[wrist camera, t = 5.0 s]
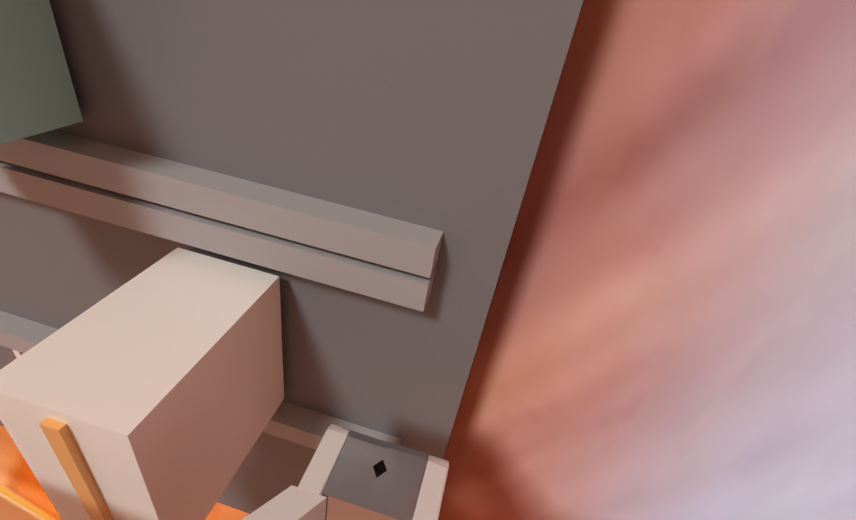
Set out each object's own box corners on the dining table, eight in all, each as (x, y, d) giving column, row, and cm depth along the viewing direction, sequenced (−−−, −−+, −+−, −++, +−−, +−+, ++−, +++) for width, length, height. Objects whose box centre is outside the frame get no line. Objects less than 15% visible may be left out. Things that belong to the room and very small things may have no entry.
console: (622, -150, 8) (675, -257, 4) (420, 523, 21) (395, 624, 18) (-582, -331, 11) (-1069, -469, 8) (-99, 347, 24) (-201, 403, 21)
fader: (279, 276, 12) (119, 443, 7) (284, 398, 14) (170, 571, 10) (177, 247, 12) (-31, 390, 8) (201, 372, 15) (58, 528, 10)
